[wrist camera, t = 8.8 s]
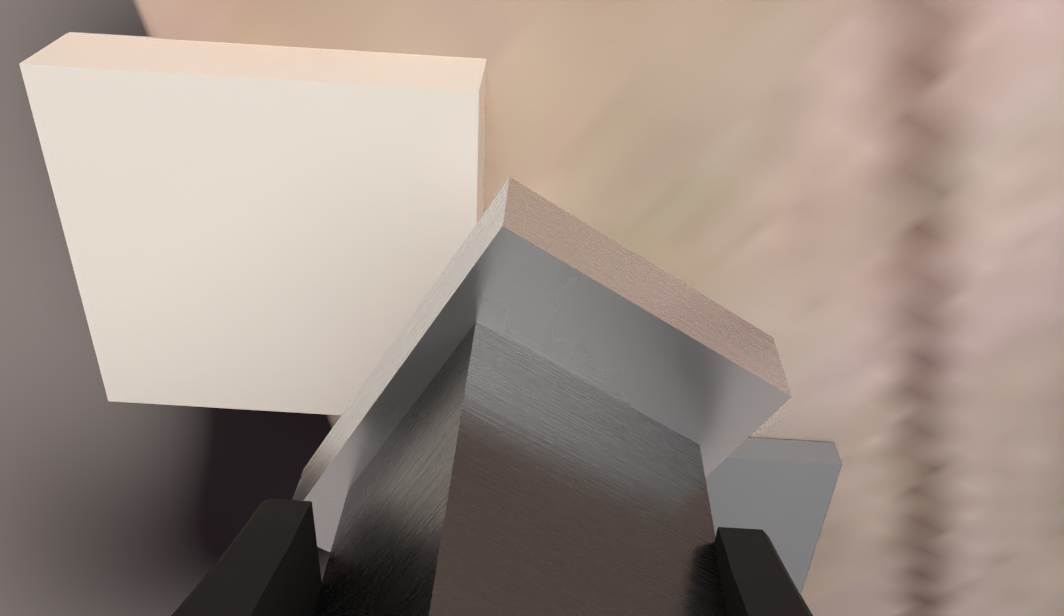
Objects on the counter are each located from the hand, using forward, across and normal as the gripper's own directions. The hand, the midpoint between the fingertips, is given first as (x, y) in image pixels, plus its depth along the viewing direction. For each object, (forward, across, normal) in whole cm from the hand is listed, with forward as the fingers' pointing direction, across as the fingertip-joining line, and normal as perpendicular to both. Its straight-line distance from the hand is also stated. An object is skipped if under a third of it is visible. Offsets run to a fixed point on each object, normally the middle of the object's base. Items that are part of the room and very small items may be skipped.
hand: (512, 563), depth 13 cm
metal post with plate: (+3, 0, 0) cm, 3 cm away
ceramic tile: (+8, +1, 0) cm, 9 cm away
